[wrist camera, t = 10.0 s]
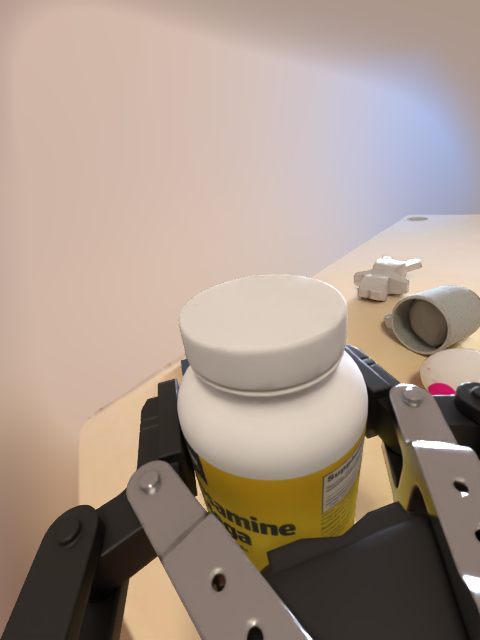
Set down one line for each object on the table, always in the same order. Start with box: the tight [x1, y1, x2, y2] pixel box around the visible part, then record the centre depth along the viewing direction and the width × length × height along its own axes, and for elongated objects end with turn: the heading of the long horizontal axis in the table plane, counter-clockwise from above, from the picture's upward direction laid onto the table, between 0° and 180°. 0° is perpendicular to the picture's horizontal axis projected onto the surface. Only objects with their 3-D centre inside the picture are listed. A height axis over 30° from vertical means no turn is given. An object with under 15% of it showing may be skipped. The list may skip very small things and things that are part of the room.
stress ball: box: [420, 348, 480, 395], centre depth 28 cm, size 8×8×7 cm
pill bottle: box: [177, 275, 368, 572], centre depth 11 cm, size 6×6×11 cm
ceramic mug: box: [384, 285, 480, 355], centre depth 38 cm, size 11×8×8 cm
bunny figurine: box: [354, 256, 422, 301], centre depth 53 cm, size 10×5×15 cm
